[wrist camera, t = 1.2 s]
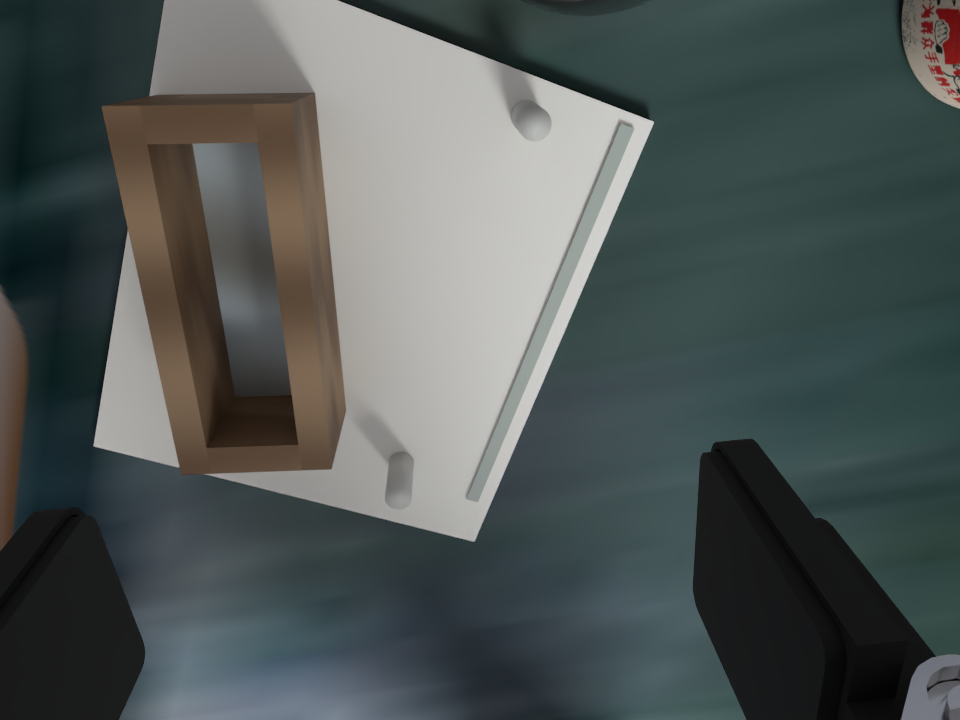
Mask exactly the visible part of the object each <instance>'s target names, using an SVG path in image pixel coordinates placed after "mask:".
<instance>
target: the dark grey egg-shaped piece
mask: <svg viewBox="0 0 960 720" xmlns="http://www.w3.org/2000/svg"><path fill="white" fill-rule="evenodd" d="M521 1H523V2H525V3H527V4H529V5H531V6H534V7H536V8H539V9H542V10H545V11H549V12H553V13H558V14H564V15H572V16H596V15H604V14H610V13H615V12H620V11H623V10H627V9H630V8H633V7H636V6H639V5H641V4H644V3H646V2H648V1H650V0H521Z"/></svg>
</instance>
